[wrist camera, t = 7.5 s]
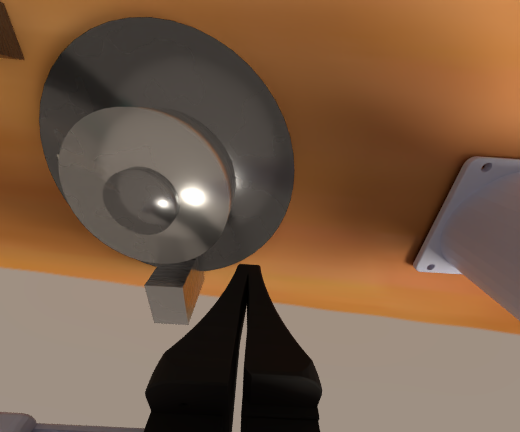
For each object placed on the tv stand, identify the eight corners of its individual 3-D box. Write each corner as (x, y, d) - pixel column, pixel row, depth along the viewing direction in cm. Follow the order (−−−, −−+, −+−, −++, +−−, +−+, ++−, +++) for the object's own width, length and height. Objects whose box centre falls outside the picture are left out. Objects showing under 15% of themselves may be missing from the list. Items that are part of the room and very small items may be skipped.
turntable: (310, 36, 9) (337, -7, 6) (277, 283, 16) (281, 330, 12) (8, 14, 9) (-145, -43, 6) (103, 273, 15) (60, 317, 12)
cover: (238, 114, 10) (227, 116, 7) (234, 240, 13) (225, 277, 10) (85, 100, 9) (9, 96, 7) (120, 231, 13) (78, 266, 10)
